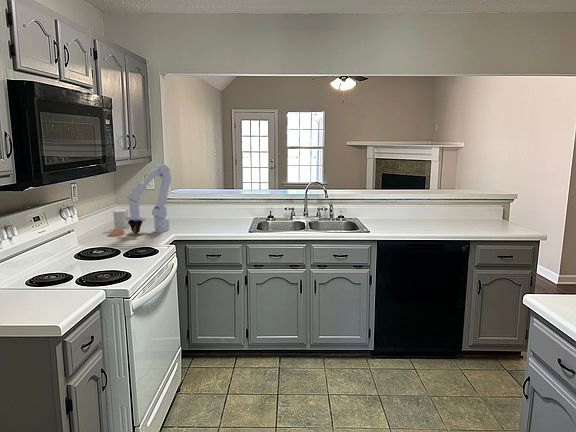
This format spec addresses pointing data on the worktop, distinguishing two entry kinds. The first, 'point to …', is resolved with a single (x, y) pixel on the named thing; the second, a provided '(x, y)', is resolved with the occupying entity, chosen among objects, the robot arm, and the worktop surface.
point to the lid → (135, 233)
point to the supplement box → (120, 219)
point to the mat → (140, 235)
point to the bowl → (116, 232)
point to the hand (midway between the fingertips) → (135, 231)
